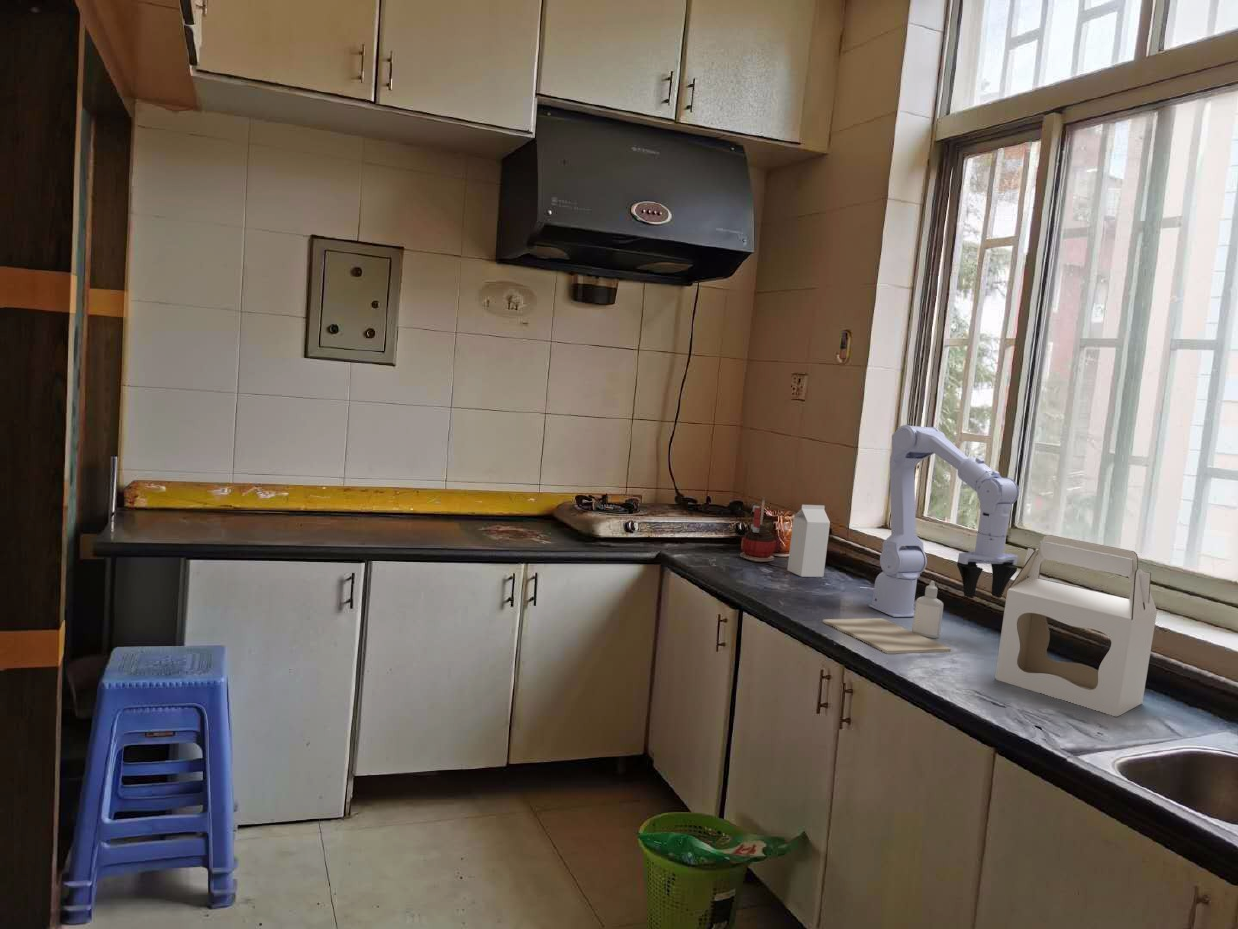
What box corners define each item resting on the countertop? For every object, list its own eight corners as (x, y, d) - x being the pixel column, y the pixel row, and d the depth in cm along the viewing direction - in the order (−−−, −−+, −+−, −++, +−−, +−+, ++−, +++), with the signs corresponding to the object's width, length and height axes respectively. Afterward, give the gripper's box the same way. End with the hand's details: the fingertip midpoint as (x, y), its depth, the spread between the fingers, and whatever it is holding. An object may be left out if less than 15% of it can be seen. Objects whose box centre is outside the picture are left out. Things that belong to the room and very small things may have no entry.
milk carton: (823, 577, 258) (832, 507, 256) (800, 577, 256) (809, 507, 254) (809, 571, 265) (817, 503, 263) (786, 570, 262) (795, 502, 260)
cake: (775, 565, 268) (783, 502, 267) (742, 562, 269) (749, 498, 267) (770, 557, 279) (777, 496, 277) (738, 554, 279) (745, 493, 277)
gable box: (992, 679, 180) (1013, 532, 177) (1022, 668, 190) (1042, 529, 187) (1118, 718, 165) (1143, 558, 162) (1143, 704, 174) (1168, 553, 171)
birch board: (822, 622, 210) (823, 619, 210) (881, 620, 217) (882, 618, 217) (887, 653, 190) (887, 651, 190) (950, 651, 197) (950, 648, 197)
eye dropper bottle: (928, 639, 204) (936, 584, 203) (908, 632, 209) (915, 578, 208) (942, 638, 207) (950, 583, 205) (922, 630, 211) (929, 577, 210)
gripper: (978, 537, 197) (969, 602, 198) (1032, 539, 202) (1022, 601, 204) (954, 530, 203) (945, 593, 205) (1007, 532, 209) (998, 592, 210)
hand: (982, 596), depth 205 cm, fingers open, 7 cm apart
